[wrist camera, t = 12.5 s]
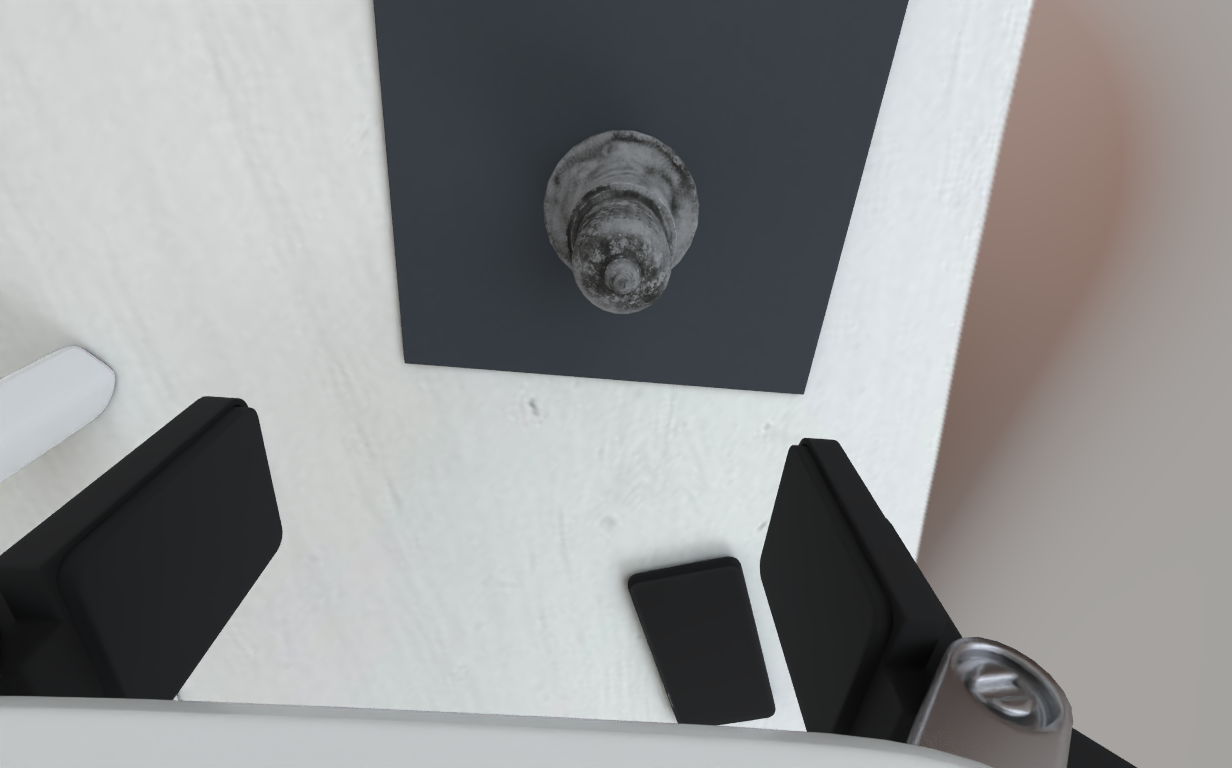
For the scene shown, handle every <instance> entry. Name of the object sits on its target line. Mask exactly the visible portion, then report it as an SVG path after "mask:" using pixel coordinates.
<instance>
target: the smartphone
mask: <svg viewBox="0 0 1232 768" xmlns="http://www.w3.org/2000/svg"><path fill="white" fill-rule="evenodd" d="M628 589H629V592H630V595H631V598H632V601H633V603H634V606H635V609H636V612H637V614H638V617H639V620H640V622H641V625H642V628H643V631H644V633H645V636H646V639H647V641H648V644H649V647H650V649H651V652H652V655H653V658H654V660H655V663H656V666H657V668H658V671H659V674H660V677H661V679H662V682H663V685H664V687H665V690H666V693H667V696H668V698H669V701H670V704H671V706H672V709H673V712H674V714H675V717H676V720H677V722H678V724H695V725H715V726H716V725H723V724H730V723H736V722H743V721H750V720H756V719H763V718H768V717H771V716H772V715H773V714H774V713H775V704H774V699H773V695H772V691H771V687H770V682H769V678H768V674H767V670H766V666H765V662H764V657H763V653H762V649H761V645H760V641H759V637H758V633H757V628H756V624H755V620H754V616H753V612H752V608H751V604H750V599H749V595H748V591H747V587H746V583H745V579H744V575H743V571H742V567H741V564H740V562H739V561H738V560H737V559H736V558H734V557H723V558H717V559H712V560H707V561H701V562H696V563H691V564H686V565H680V566H675V567H670V568H665V569H659V570H654V571H649V572H644V573H639V574H635V575H633V576H631V577H630V579H629V581H628Z"/></svg>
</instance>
